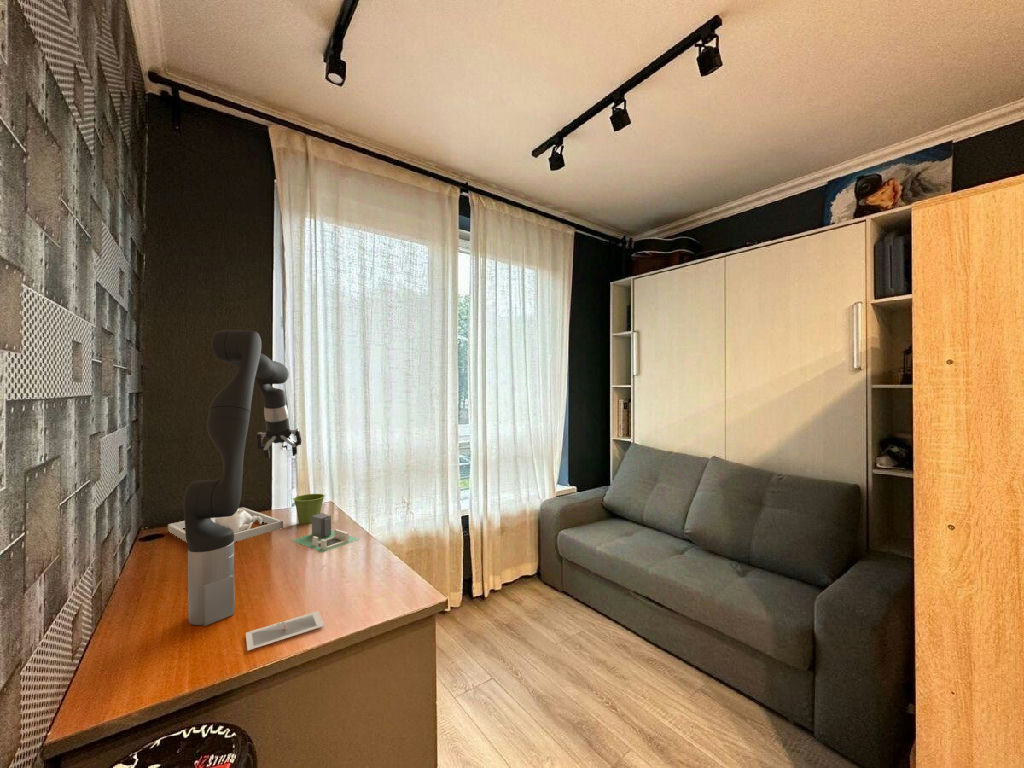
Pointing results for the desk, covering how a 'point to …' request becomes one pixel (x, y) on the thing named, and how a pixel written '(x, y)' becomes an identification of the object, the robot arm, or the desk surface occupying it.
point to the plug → (321, 525)
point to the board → (326, 540)
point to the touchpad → (283, 630)
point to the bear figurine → (237, 521)
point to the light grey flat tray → (271, 526)
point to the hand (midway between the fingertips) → (281, 456)
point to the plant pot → (308, 506)
